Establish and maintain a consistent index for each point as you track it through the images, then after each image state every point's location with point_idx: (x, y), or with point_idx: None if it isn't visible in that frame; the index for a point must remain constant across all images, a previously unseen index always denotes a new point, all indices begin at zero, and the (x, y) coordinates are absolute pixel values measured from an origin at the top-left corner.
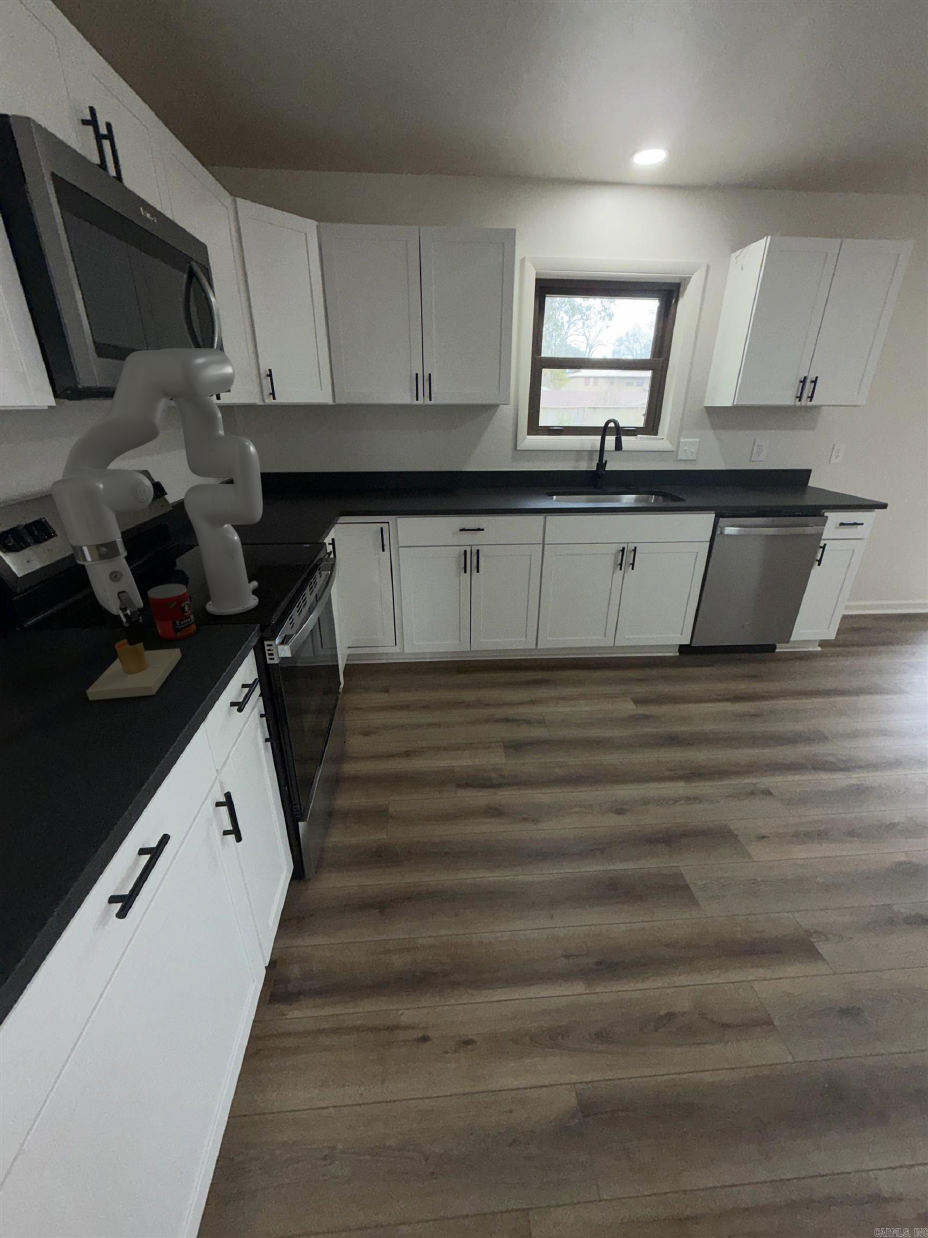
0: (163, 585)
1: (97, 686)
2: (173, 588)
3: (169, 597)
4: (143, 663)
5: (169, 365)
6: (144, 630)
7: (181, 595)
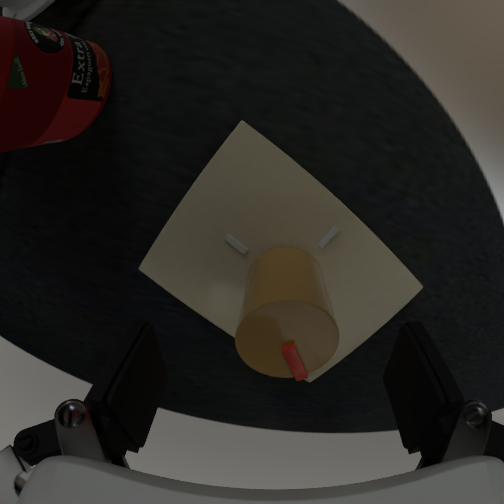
0: None
1: None
2: None
3: None
4: (323, 277)
5: None
6: (439, 358)
7: (2, 28)
